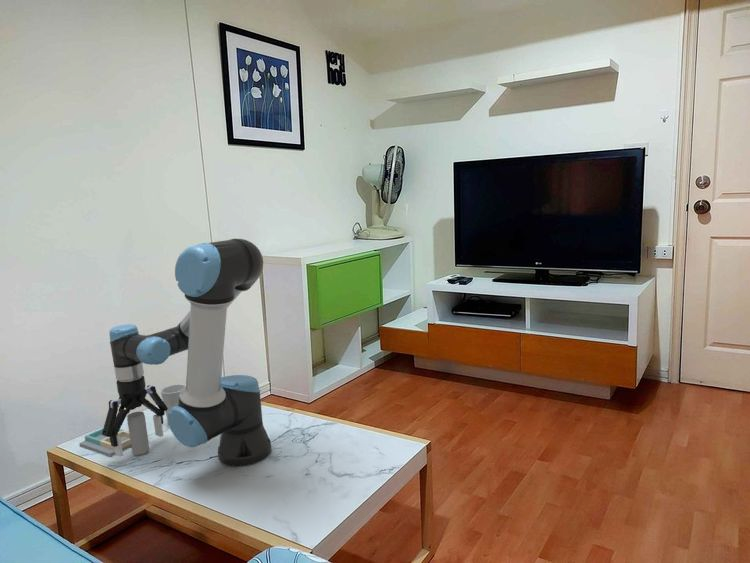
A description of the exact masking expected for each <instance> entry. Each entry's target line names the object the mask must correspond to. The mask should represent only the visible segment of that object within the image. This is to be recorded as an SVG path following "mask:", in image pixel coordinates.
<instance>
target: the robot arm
mask: <svg viewBox="0 0 750 563" xmlns="http://www.w3.org/2000/svg"><path fill="white" fill-rule="evenodd" d="M263 269H264V258H263V254H262V252H261V250H260V249H259V247H257V245H255V244H254V243H253V242H252V241H249V240H247V239H243V238H231V239H226V240H219V241H214V242H201V243H198V244H196V245H192V246H188V247H187V248H185V249H184V250H183V251H182V252H181V253H180V254H179V256H178V257H177V259H176V263H175V267H174V277H175V281H176V282H177V286H178V289H179V290H180V291H181V292H182V293H183V294H184V298H185V300H186V301H187V302H189V303H190V310H189V311H188V313H187V314H186V315H185V316H184V317H183V318H182V319H181V321H180V322H179V323H178V324H177V325H176V326H174V327H171V328H168V329H164V330H161V331H158V332H155V333H154V332H153V333H151V334H148V335H145V334H139V333H140V332H139V329H138V327H137V325H136V324H129V323H128V324H121V325H117V326H113V327H112V328H111V329H110V330H109V344H110V345H109V346H110V349H111V356H112V362H113V368H114V373H115V374H114V375H115V379H116V382H115V383H116V389H117V393H118V399H115V400H109V401H108V411H107V413H106V414H107V415H106V417H105V418H106V419H105V421H104V425H103V427H102V428H103V432H102V435H103V436H106V437H110V441H111V446H113V447H114V450H115V455H114V456H117V457H120V458H122V457H123V456H124V451H122V444H121V438H120V435H119V434H118V432H119V430H120V429H122V425H123V424H124V421H125V419H126V417H127V416H128V415H129V414H130V412H131V411H132V410H133V411H134V410H135V409H137V408H141V407H142V405H143V406H144V407H146V408H147V409H148V410H149V411H150V412H152V413H154V414H153V415H152V420H153V428H154V433H155V436H156V437H157V436H158V437H160V438H162V437H164V431H163V425H164V416H165V415H166V412H165V411H167V410H168V408H167V406H166V405H165V403H164V402H163V399H162V397H161V396H160V395H159V394H158V392H157V388H156V386H154V385H151V384H149V385H147V386H146V378H145V376H144V374H145V372H144V371H145V370H144V367H143V365H144V364H145V365H150V366H152V365H155V366H156V365H157V366H158V365H161V364H163V363H165V361H167V360H168V359H169V357H170V356H174V355H176V354H179V353H182V352H185V351H187V361H186V363H187V364H186V377H185V380H186V381H185V386H186V387H184V388H183V389H182V390H181V391H180V393H179V404H178V406H174V407H173V408H172V409H171V410H170V411H169V413H168V422H167V424H168V423H169V426H168V427H169V429H170V431H171V433H172V435H173V436H174V438H175V439H176V441H178V442H179V443H180V444H181V445H183V446H185V447H187V448H196V447H199V446H201V445H203V444H206V443H207V442H210V441H211V440H212V439H214V438H217V437H218V436H219V435H220V438H219V439H220V440H219V446H218V449H217V459H218V461H219V462H220V463H221V464H223V465H224V466H227V467H246V466H250V465H253V464H257V463H259V462H261V461H262V460H265V459H266V458H267V457H268V456H269V455H270V454H271V452H272V450H273V449H272V443H271V439H270V438H269V435H268V433H267V431H266V429H265V426H264V423H263V422H264V421H263V415H262V414H263V413H262V400H261V390H260V387H259V386H260V385H259V381H258V379H257V378H256V377H254V376H251V375H245V374H243V375H242V374H236V375H235V374H233V375H226V376H223V377H222V372H223V362H224V361H223V360H224V349H225V348H224V347H225V335H226V326H227V325H226V324H227V312H228V308H229V306H231V305H232V304H233V302H234V301H235V300H236V299H237V298H238V296H239V295H240V294H241V293H242V292H246V291H248V290H250V289H251V288H252V287H253V286H254V285H255V283H256V282H257V281H258V279H259V278H260V276H261V275H262V273H263ZM147 395H149V397H150V398H151V399H152V401H153V402H154V403H155V405H154V404H153V403H152V402H150V401H149V400H148V399H147V398H146V397H147Z"/></svg>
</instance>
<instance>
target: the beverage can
mask: <svg viewBox="0 0 750 563" xmlns="http://www.w3.org/2000/svg"><path fill="white" fill-rule="evenodd" d="M126 417H127V419H126V420H127V427H128V432H129V435H130V441H131V447H130V448H131V452H132V454H133V455H134V456H142V455H146V454H147V453H149V451H150V445H149V444H150V443H149V442H150V441H149V435H148V429H147V421H146V416H145V413H144V412H143V411H133V412H131V413H128V414H127V416H126Z"/></svg>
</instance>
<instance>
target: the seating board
mask: <svg viewBox="0 0 750 563" xmlns="http://www.w3.org/2000/svg"><path fill="white" fill-rule="evenodd" d="M103 428H104V427H102V428H100V429H98V430H95V431H93V432H91V433H89V434H86V435H84V440H82V441H81V442H79V443H78V444H79V447H81V448H84V449H87V450H90V451H93V452H95V453H98V454H101V455H103V456H106V457H110V458H111V457H114V456H116V455H115V450H114V447H113V446H111V441H110V437H106V436H103V435H102V432H103ZM118 434H119V435H120V438H121V444H122V451H123V452H124V451H126V450H128V449H130V448H132V447H131V441H130V435H129V430H128V431H127V430H124V429H122V428H120V430H119V432H118Z"/></svg>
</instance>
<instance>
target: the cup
mask: <svg viewBox="0 0 750 563" xmlns="http://www.w3.org/2000/svg"><path fill="white" fill-rule="evenodd" d="M184 387H186V384H180V383H179V384H178V383H177V384H172V385H168V386H165V387H163V388H162V389H160V394H161V399H162V401H163V402H164V403H165V405H166V406H167V408H168V410H167V411H165V416H166V422H167V426H168V427H169V423H168V413H169V411H170V410H171V409H172V408H173V407H174V406H178V404H179V393H180V391H181V390H182V389H183V388H184Z"/></svg>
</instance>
